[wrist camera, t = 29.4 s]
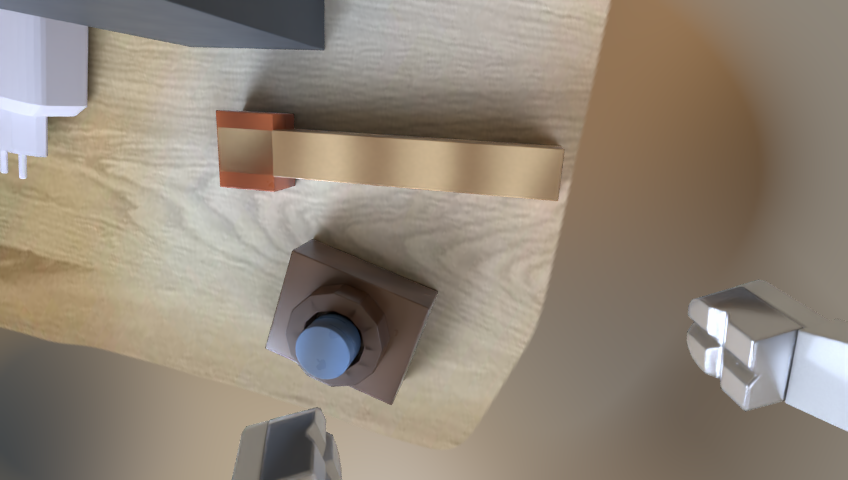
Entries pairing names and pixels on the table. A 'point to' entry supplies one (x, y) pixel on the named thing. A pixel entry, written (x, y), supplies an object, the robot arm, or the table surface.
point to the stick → (378, 159)
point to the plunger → (328, 346)
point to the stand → (194, 20)
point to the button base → (353, 315)
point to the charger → (38, 81)
